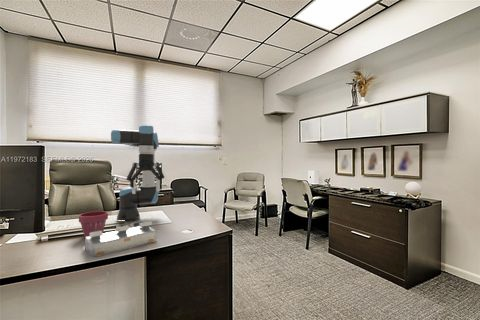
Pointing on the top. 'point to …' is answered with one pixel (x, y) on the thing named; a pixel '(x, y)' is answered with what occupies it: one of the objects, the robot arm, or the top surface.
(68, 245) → the top surface
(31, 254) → the top surface
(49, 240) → the top surface
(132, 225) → the keypad
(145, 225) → the rocker
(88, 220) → the plant pot
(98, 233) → the rocker
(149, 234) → the console
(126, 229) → the rocker
